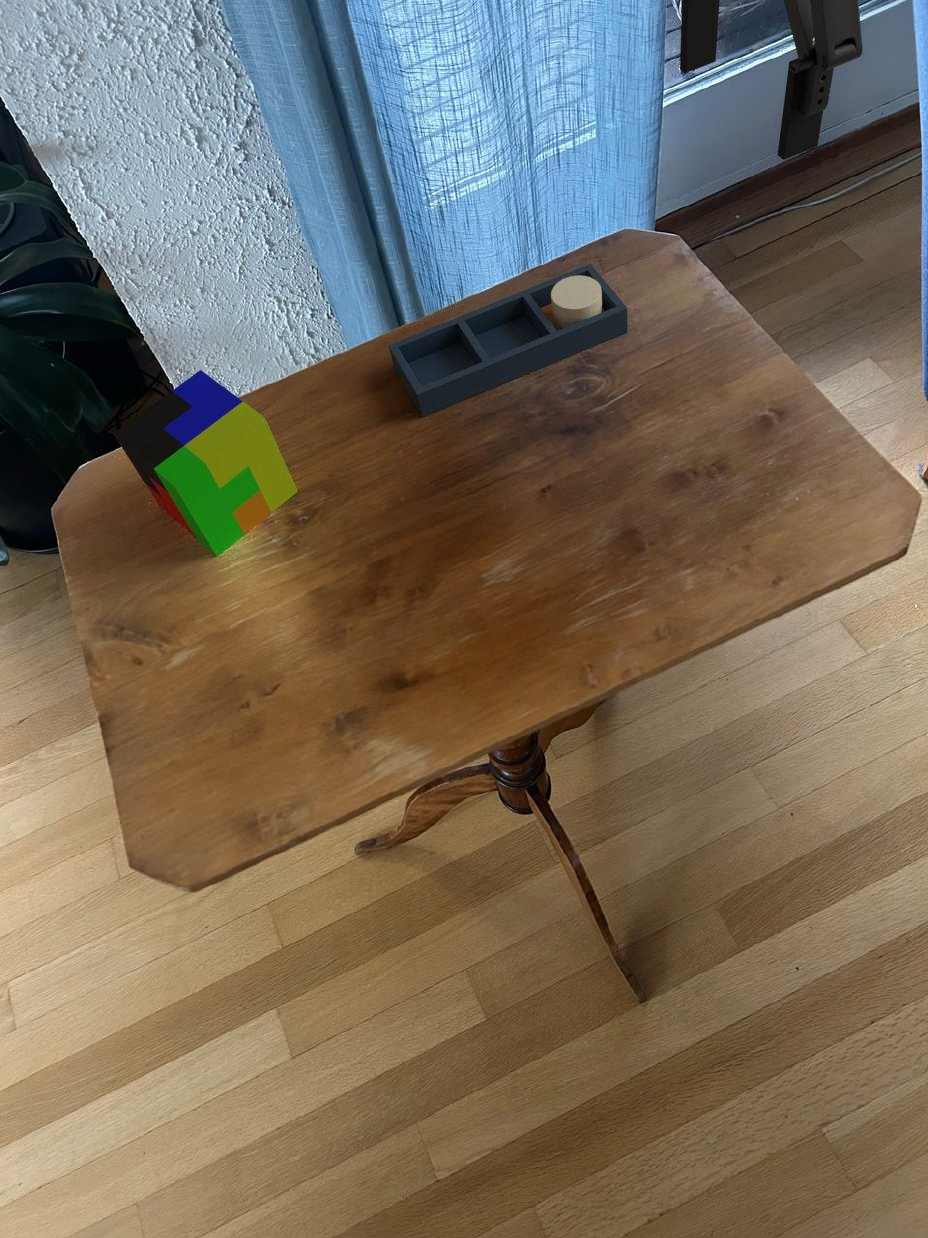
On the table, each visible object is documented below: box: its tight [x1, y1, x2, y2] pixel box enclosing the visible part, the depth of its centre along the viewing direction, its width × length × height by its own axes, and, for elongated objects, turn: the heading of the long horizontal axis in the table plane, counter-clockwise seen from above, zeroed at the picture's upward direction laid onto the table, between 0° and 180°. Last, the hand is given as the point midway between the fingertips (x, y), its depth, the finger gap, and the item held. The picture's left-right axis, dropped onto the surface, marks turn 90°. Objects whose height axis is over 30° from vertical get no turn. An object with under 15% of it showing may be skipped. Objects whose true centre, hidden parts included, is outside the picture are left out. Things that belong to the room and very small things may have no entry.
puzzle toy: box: [112, 369, 299, 557], centre depth 92 cm, size 10×10×10 cm
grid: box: [388, 263, 629, 418], centre depth 100 cm, size 8×23×3 cm, turn 113°
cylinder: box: [551, 276, 602, 331], centre depth 100 cm, size 5×5×4 cm
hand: (744, 106), depth 73 cm, fingers open, 13 cm apart
